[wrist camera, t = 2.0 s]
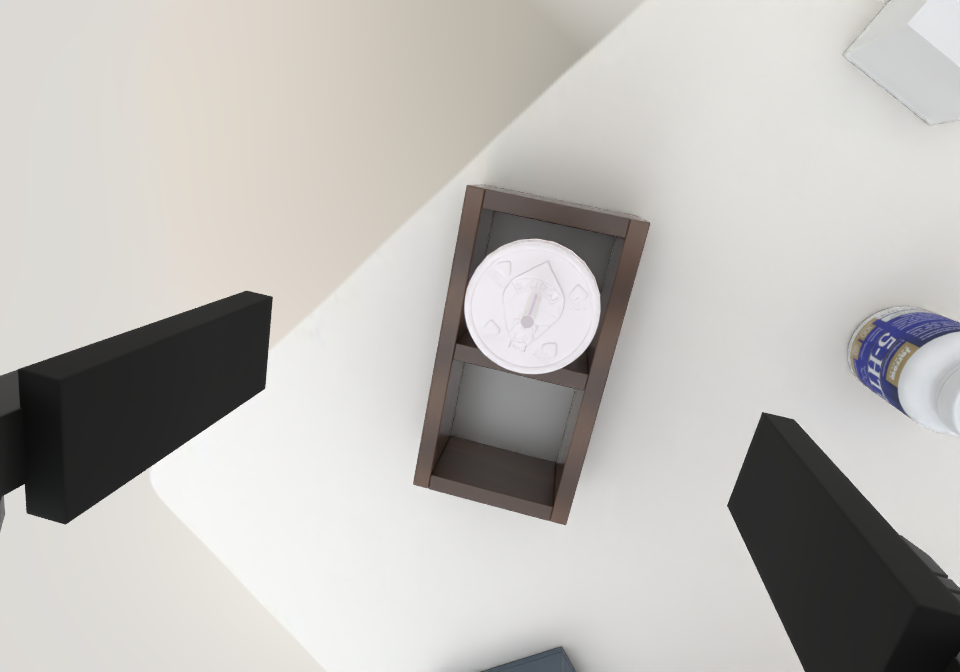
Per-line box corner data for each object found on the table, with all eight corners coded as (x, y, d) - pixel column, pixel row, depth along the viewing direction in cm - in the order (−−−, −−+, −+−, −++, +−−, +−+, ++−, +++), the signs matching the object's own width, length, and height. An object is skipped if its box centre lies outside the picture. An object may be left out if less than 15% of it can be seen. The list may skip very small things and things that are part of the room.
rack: (567, 478, 38) (565, 525, 33) (434, 444, 39) (412, 485, 34) (638, 216, 33) (650, 222, 28) (483, 184, 34) (466, 184, 29)
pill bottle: (841, 314, 33) (934, 359, 24) (943, 297, 32) (1078, 339, 23) (848, 398, 34) (939, 469, 25) (946, 384, 33) (1076, 454, 24)
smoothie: (609, 243, 34) (633, 284, 20) (573, 340, 36) (572, 434, 22) (509, 210, 34) (468, 229, 21) (478, 307, 36) (423, 380, 23)
